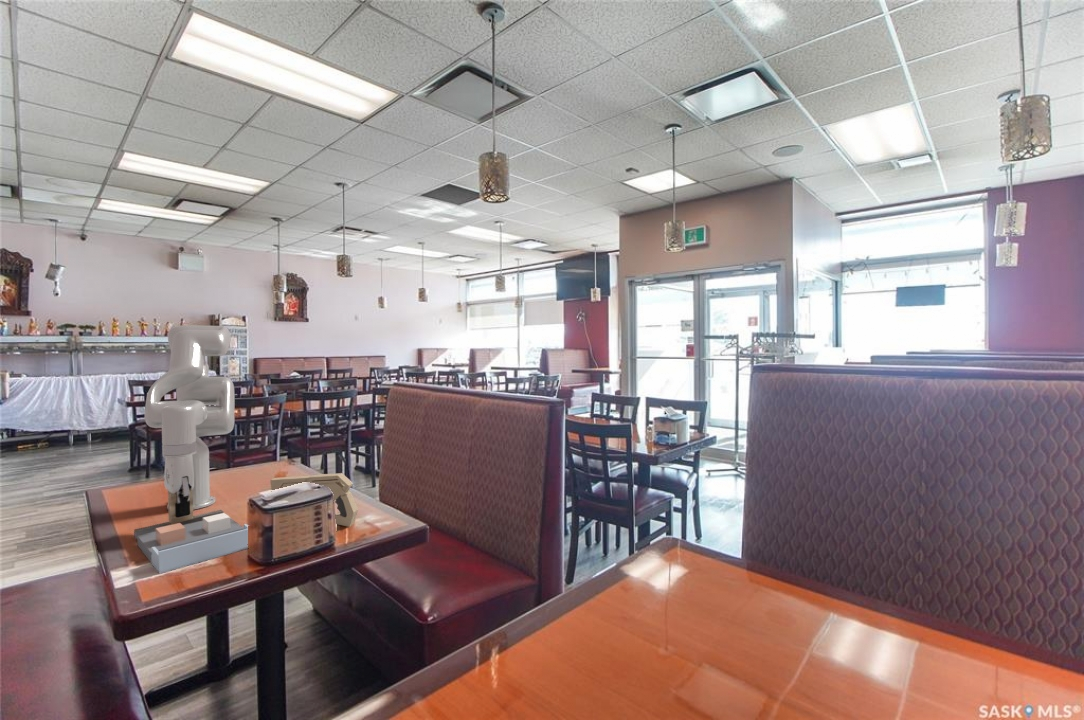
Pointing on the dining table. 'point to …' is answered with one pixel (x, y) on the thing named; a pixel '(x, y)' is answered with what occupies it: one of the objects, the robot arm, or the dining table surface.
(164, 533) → the tile terracotta
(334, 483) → the gun
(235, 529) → the board
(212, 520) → the tile cream
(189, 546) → the box
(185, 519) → the scraper
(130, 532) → the dining table surface
